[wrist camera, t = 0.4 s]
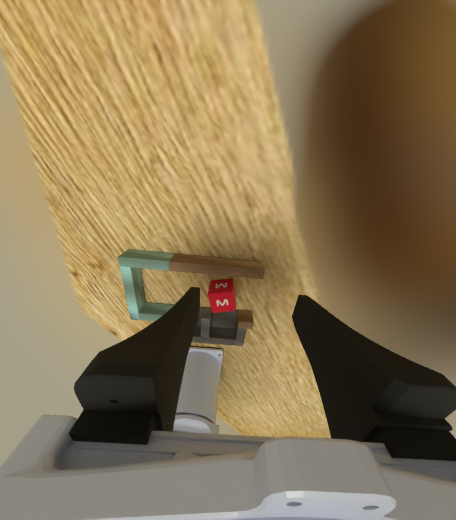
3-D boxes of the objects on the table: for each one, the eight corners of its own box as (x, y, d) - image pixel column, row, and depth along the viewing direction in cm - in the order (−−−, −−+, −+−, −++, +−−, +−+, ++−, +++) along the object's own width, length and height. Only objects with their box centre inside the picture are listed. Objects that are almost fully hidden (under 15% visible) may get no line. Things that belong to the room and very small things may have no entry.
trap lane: (247, 334, 27) (248, 346, 25) (141, 325, 27) (134, 337, 25) (261, 261, 22) (264, 269, 20) (128, 249, 21) (117, 256, 19)
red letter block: (232, 278, 23) (232, 291, 20) (235, 295, 24) (235, 310, 22) (210, 280, 23) (207, 294, 20) (214, 298, 24) (212, 313, 22)
